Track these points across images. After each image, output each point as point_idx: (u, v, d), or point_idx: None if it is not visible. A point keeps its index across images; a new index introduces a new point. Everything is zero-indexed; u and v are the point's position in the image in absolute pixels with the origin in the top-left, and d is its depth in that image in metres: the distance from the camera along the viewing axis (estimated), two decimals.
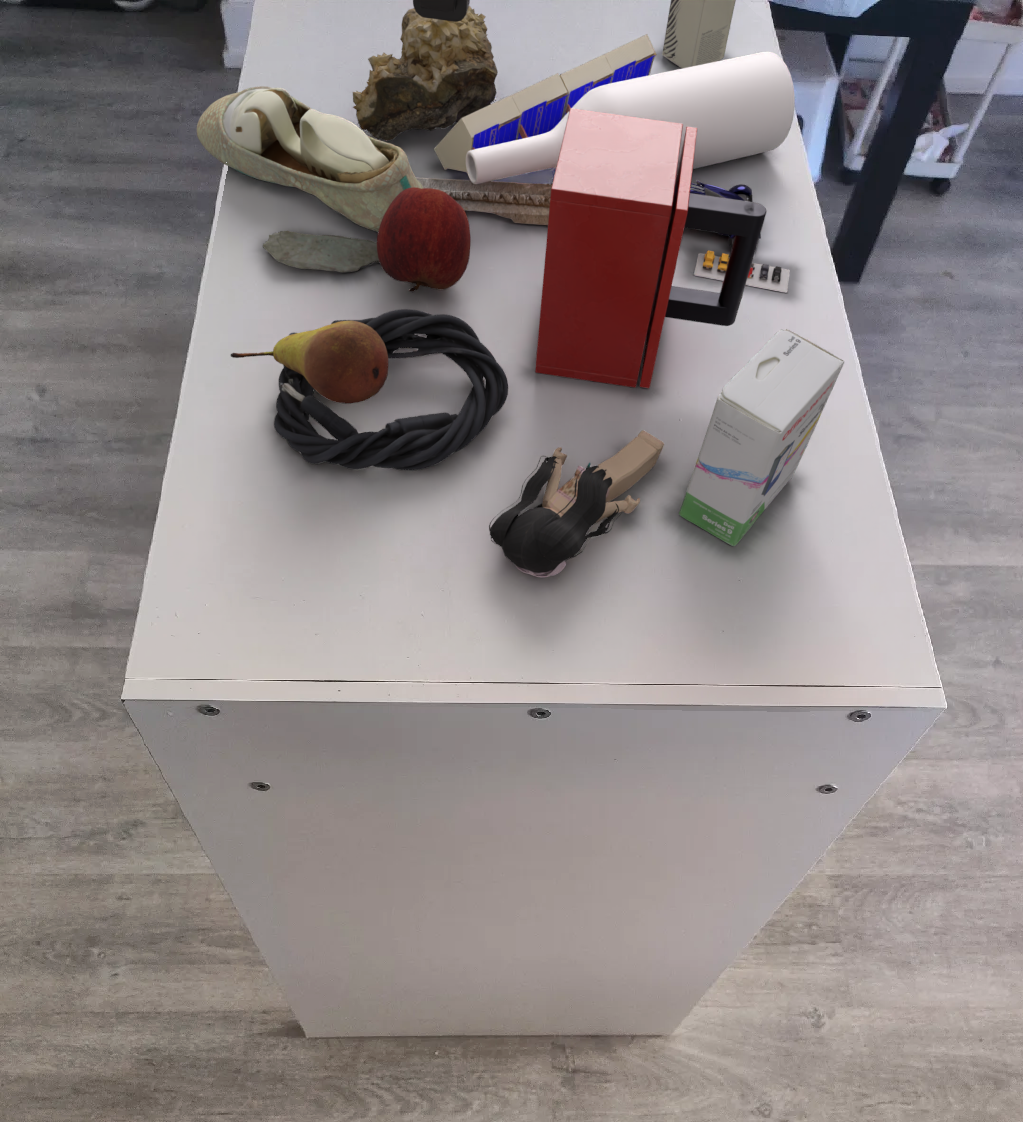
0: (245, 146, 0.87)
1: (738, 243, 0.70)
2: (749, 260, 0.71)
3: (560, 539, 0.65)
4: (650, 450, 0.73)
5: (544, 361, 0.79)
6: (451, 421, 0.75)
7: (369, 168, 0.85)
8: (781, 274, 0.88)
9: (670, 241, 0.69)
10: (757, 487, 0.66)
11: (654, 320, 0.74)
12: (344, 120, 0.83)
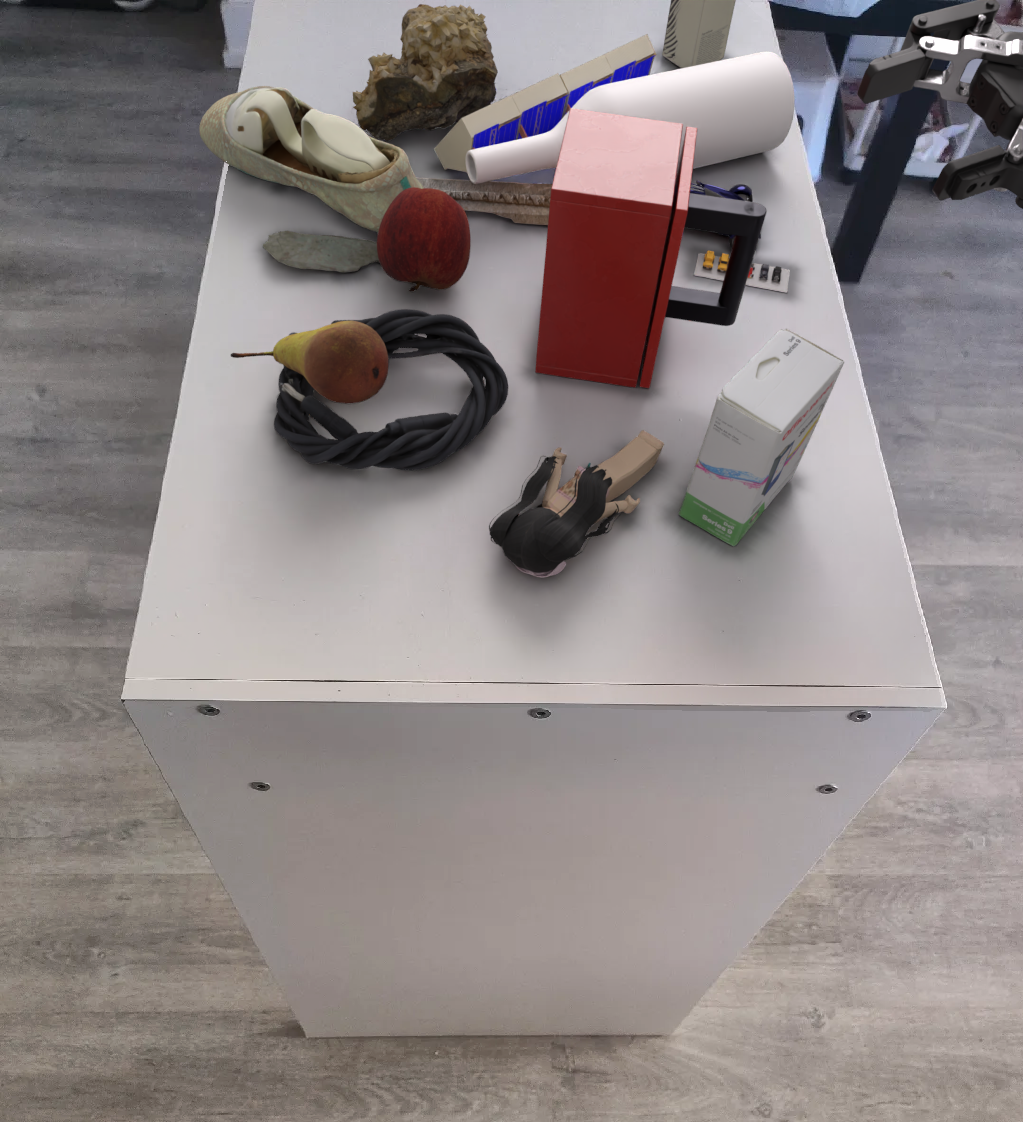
0: (246, 146, 0.87)
1: (738, 243, 0.70)
2: (749, 260, 0.71)
3: (560, 539, 0.65)
4: (650, 450, 0.73)
5: (544, 361, 0.79)
6: (451, 421, 0.75)
7: (370, 168, 0.85)
8: (781, 274, 0.88)
9: (670, 241, 0.69)
10: (757, 487, 0.66)
11: (654, 320, 0.74)
12: (345, 120, 0.83)
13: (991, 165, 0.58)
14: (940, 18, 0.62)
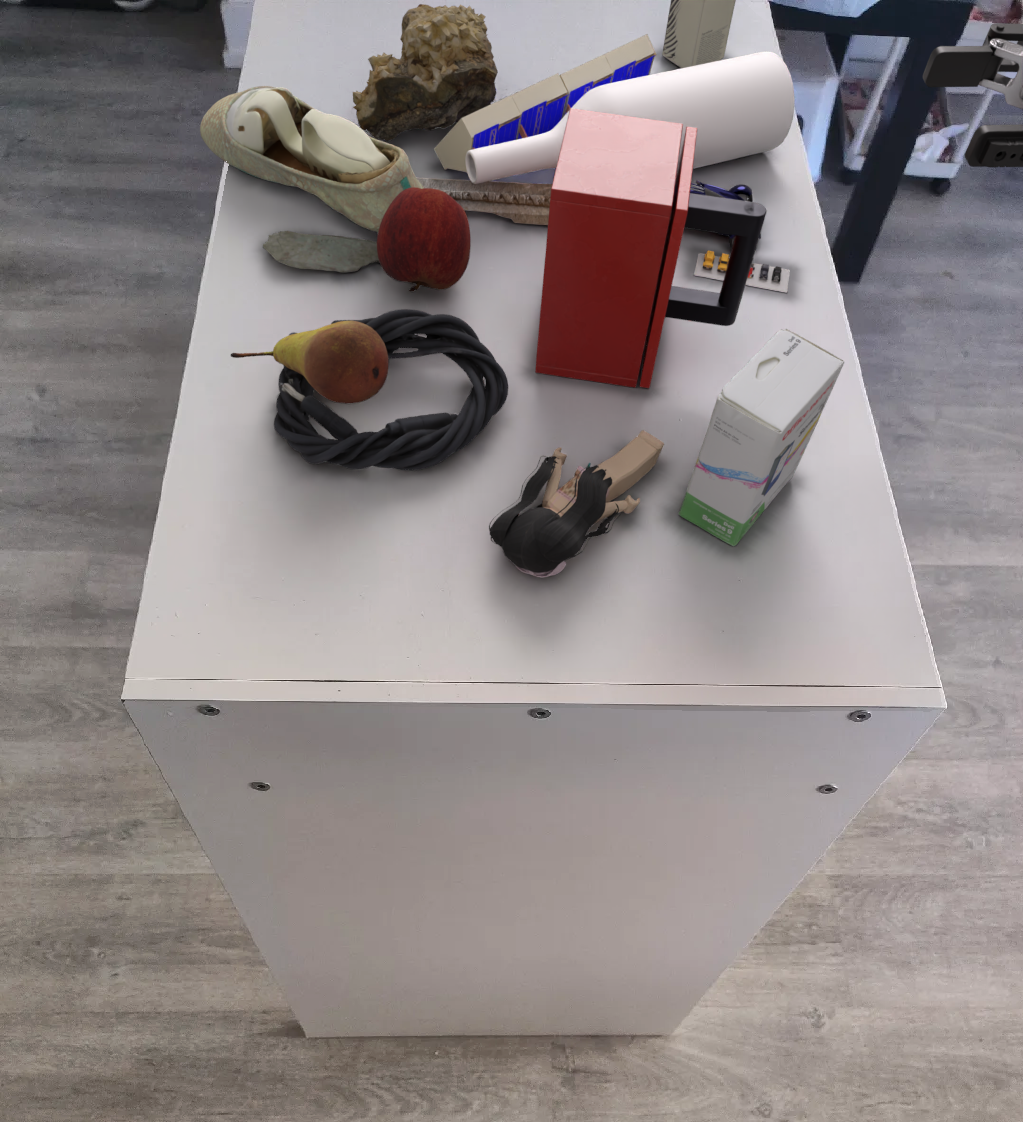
0: (247, 146, 0.87)
1: (738, 243, 0.70)
2: (749, 260, 0.71)
3: (560, 539, 0.65)
4: (650, 450, 0.73)
5: (544, 361, 0.79)
6: (451, 421, 0.75)
7: (370, 169, 0.85)
8: (781, 274, 0.88)
9: (670, 241, 0.69)
10: (757, 487, 0.66)
11: (654, 320, 0.74)
12: (346, 120, 0.83)
13: None
14: (1017, 29, 0.66)
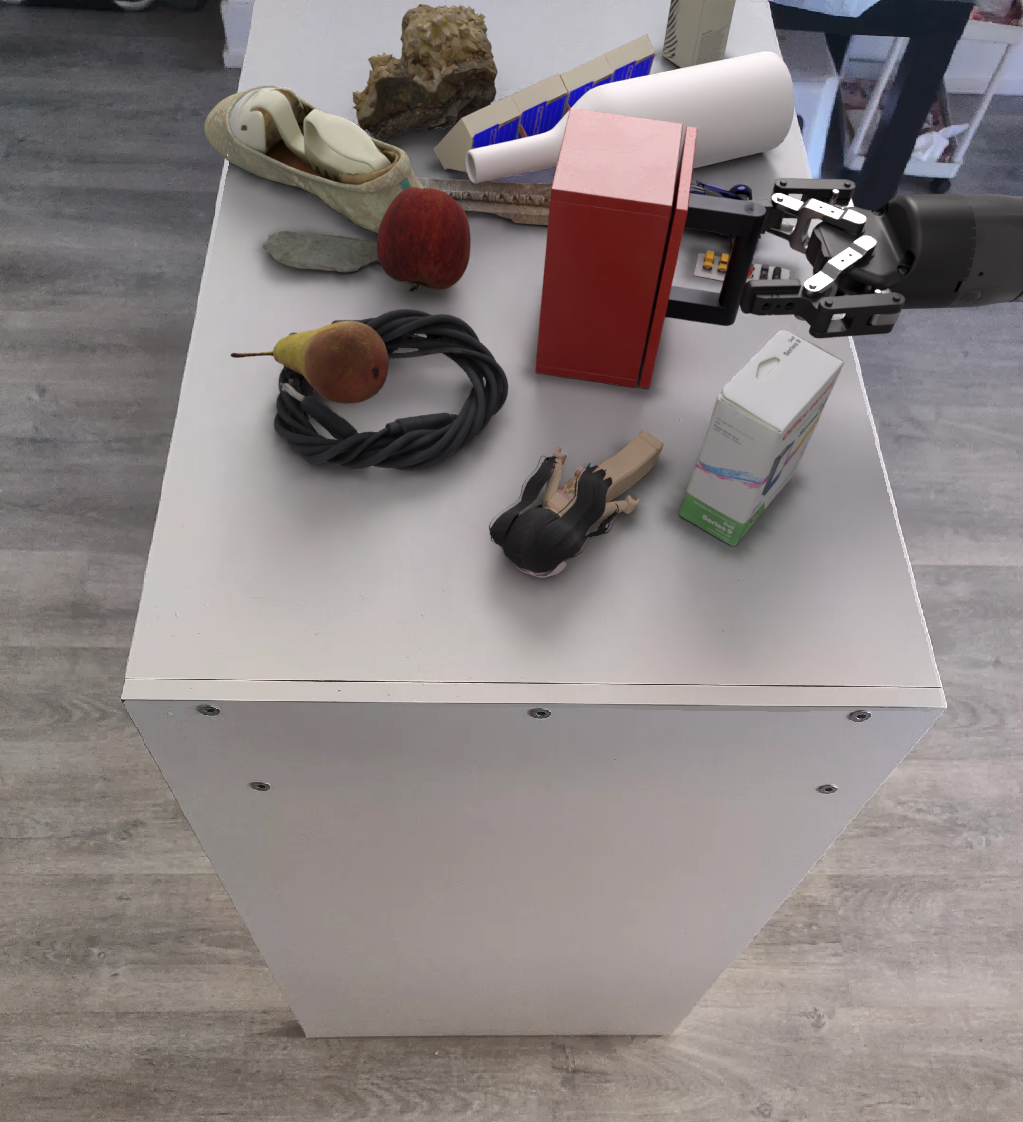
0: (250, 145, 0.87)
1: (738, 243, 0.70)
2: (749, 260, 0.71)
3: (560, 539, 0.65)
4: (650, 450, 0.73)
5: (544, 361, 0.79)
6: (451, 421, 0.75)
7: (371, 170, 0.85)
8: (781, 274, 0.88)
9: (670, 241, 0.69)
10: (757, 487, 0.66)
11: (654, 320, 0.74)
12: (347, 121, 0.83)
13: (786, 292, 0.68)
14: (798, 184, 0.74)
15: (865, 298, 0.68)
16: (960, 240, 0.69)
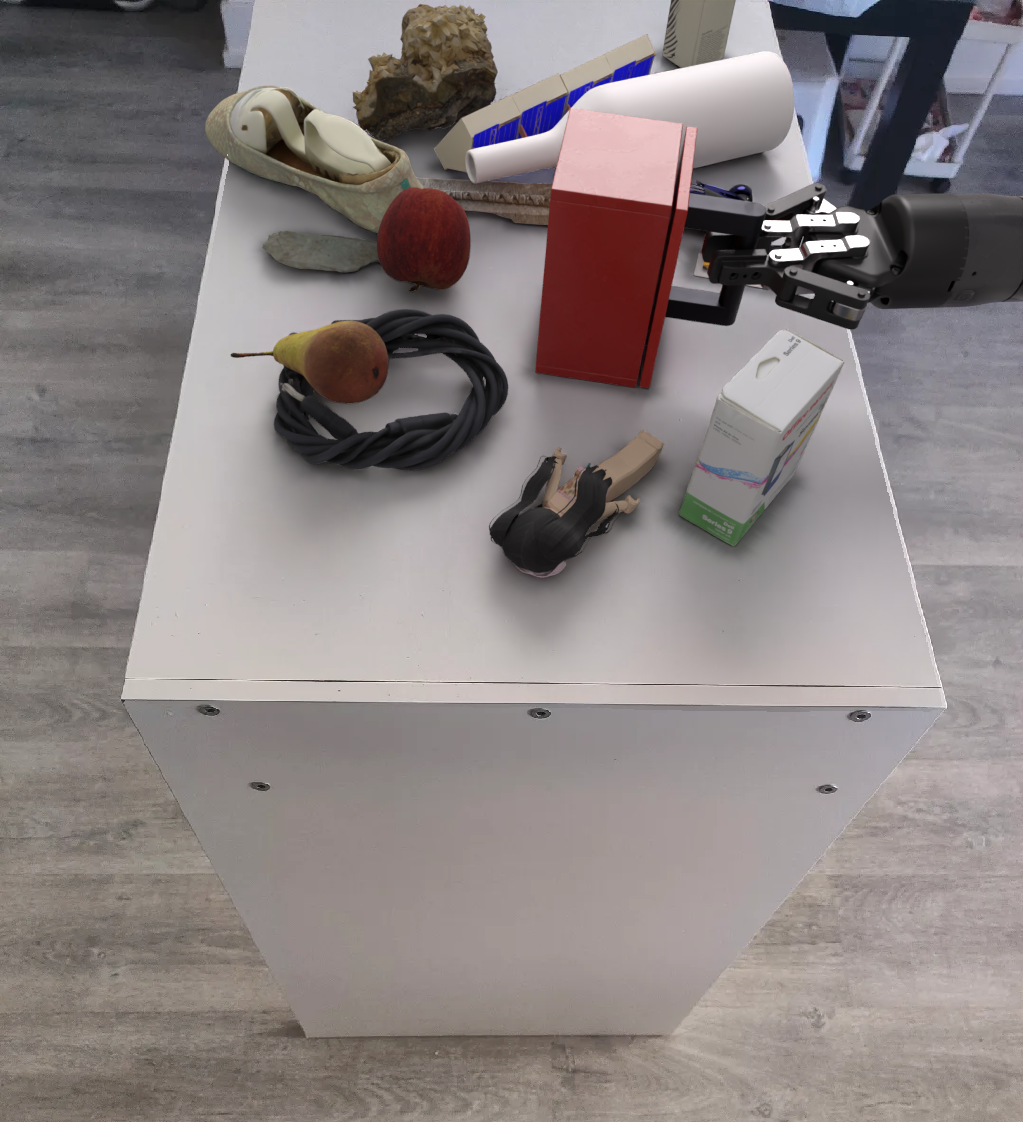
0: (250, 145, 0.87)
1: (738, 243, 0.70)
2: None
3: (560, 539, 0.65)
4: (650, 450, 0.73)
5: (544, 361, 0.79)
6: (451, 421, 0.75)
7: (372, 170, 0.85)
8: None
9: (670, 241, 0.69)
10: (757, 487, 0.66)
11: (654, 320, 0.74)
12: (348, 121, 0.83)
13: (753, 262, 0.70)
14: (784, 205, 0.73)
15: (831, 282, 0.68)
16: (953, 240, 0.69)
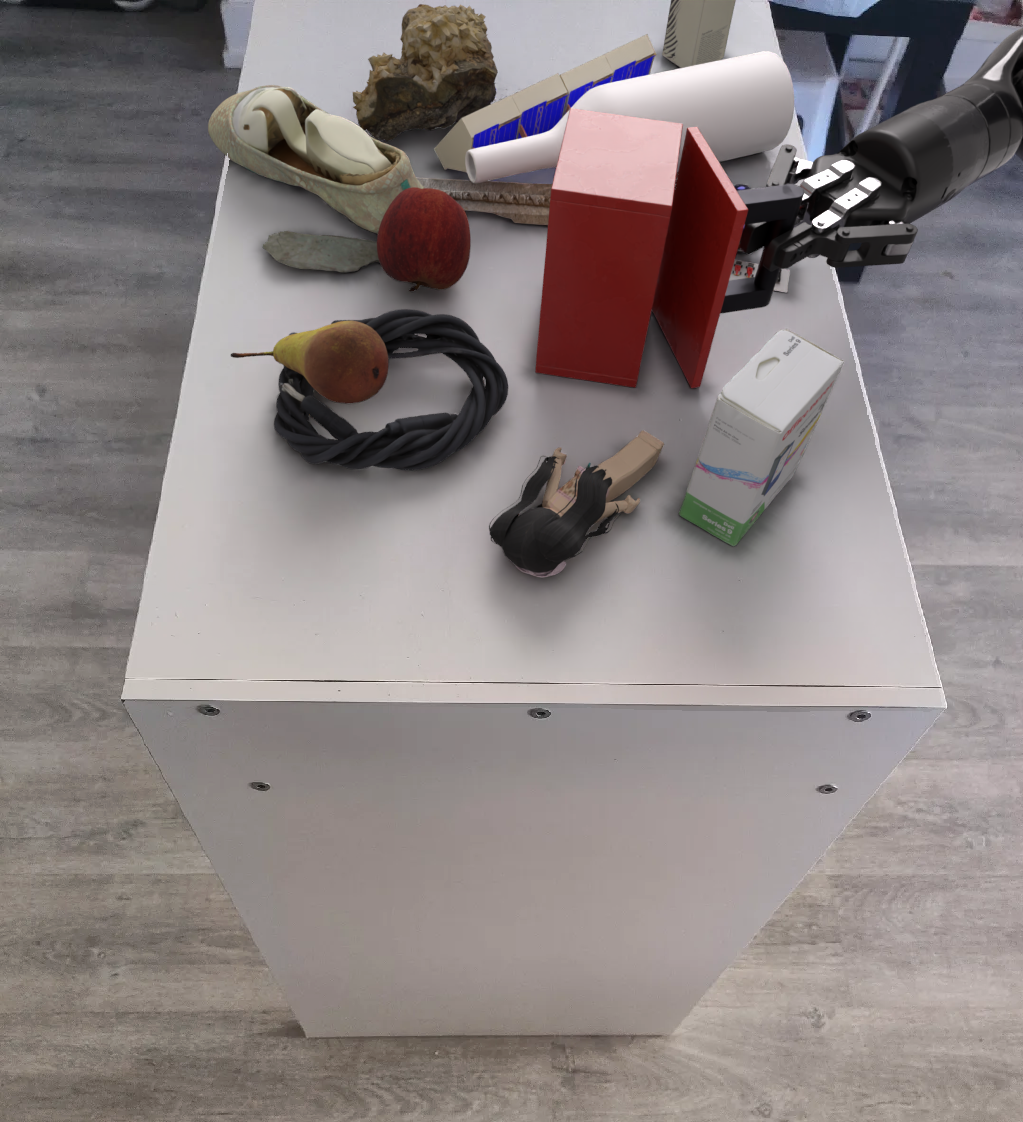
0: (252, 144, 0.87)
1: (779, 226, 0.71)
2: None
3: (560, 539, 0.65)
4: (650, 450, 0.73)
5: (544, 361, 0.79)
6: (451, 421, 0.75)
7: (372, 170, 0.85)
8: (781, 274, 0.88)
9: (730, 243, 0.69)
10: (757, 487, 0.66)
11: (709, 321, 0.74)
12: (349, 122, 0.83)
13: (803, 237, 0.72)
14: (781, 176, 0.74)
15: (880, 228, 0.72)
16: (941, 152, 0.74)
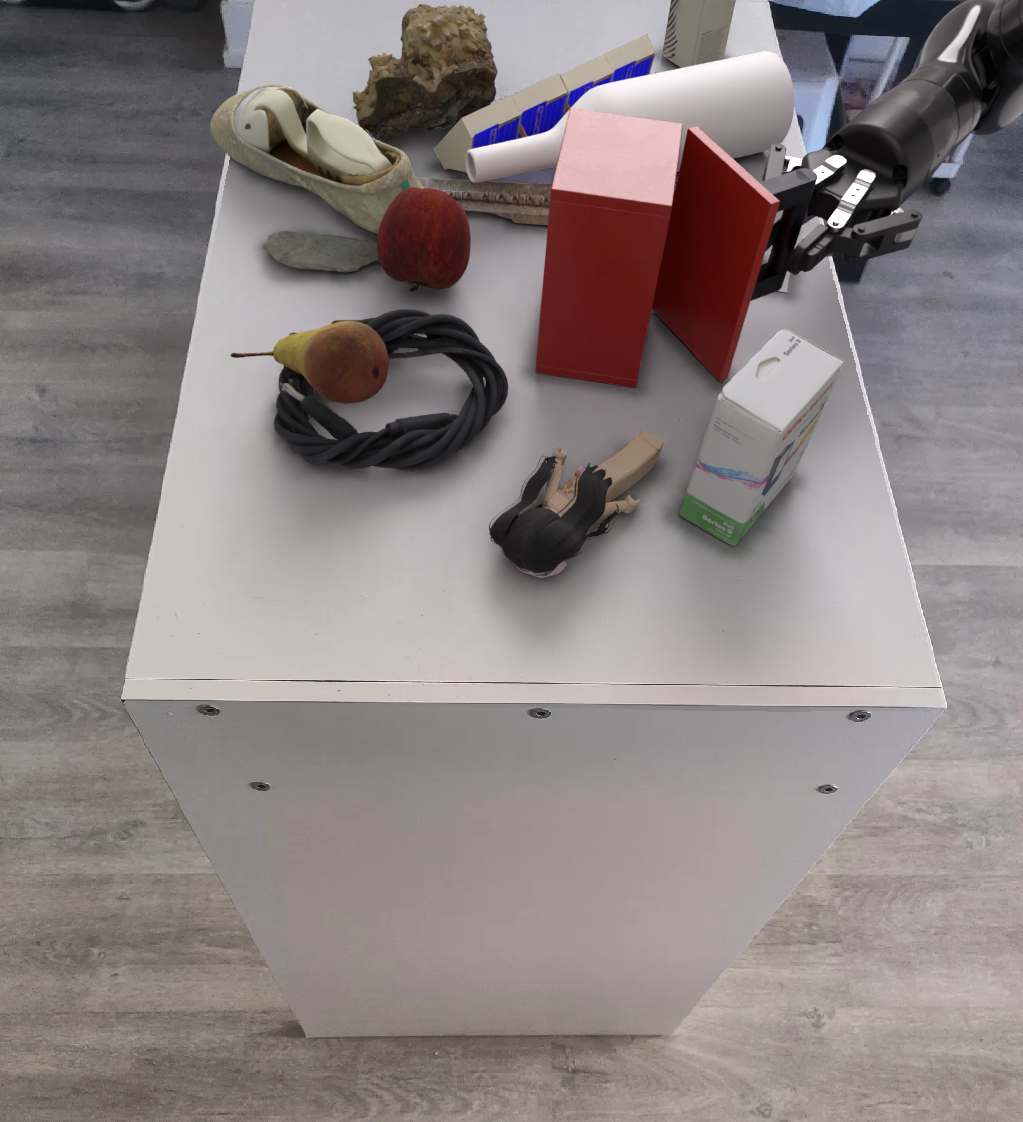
0: (253, 144, 0.88)
1: (796, 211, 0.72)
2: (802, 222, 0.73)
3: (560, 539, 0.65)
4: (650, 450, 0.73)
5: (544, 361, 0.79)
6: (451, 421, 0.75)
7: (373, 171, 0.85)
8: None
9: (763, 236, 0.69)
10: (757, 487, 0.66)
11: (740, 314, 0.75)
12: (349, 122, 0.83)
13: (823, 239, 0.74)
14: (776, 175, 0.77)
15: (889, 219, 0.75)
16: (923, 136, 0.77)
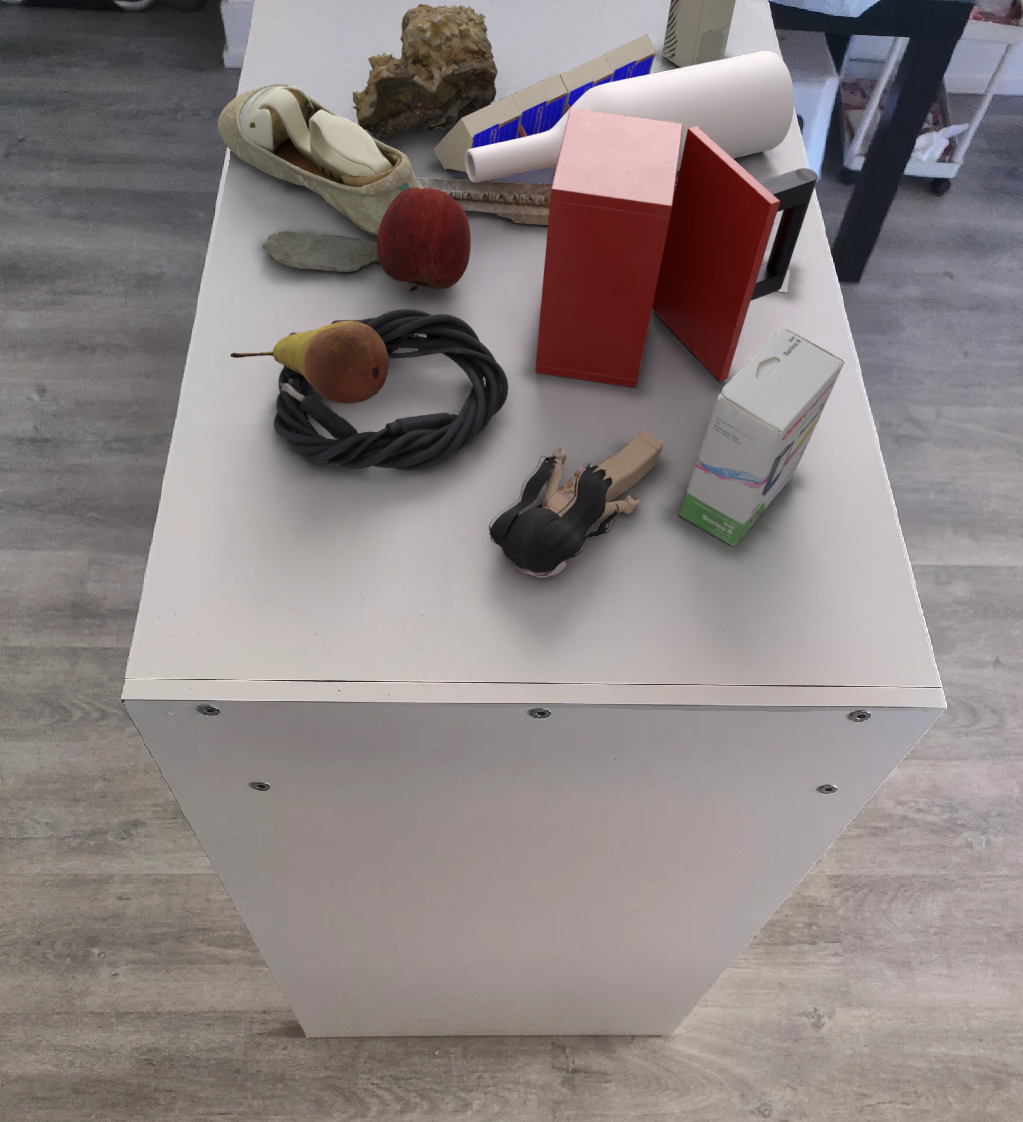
0: (258, 143, 0.88)
1: (796, 211, 0.72)
2: (802, 222, 0.73)
3: (560, 539, 0.65)
4: (650, 450, 0.73)
5: (544, 361, 0.79)
6: (451, 421, 0.75)
7: None
8: None
9: (763, 236, 0.69)
10: (757, 487, 0.66)
11: (740, 314, 0.75)
12: (352, 123, 0.83)
13: None
14: None
15: None
16: None
